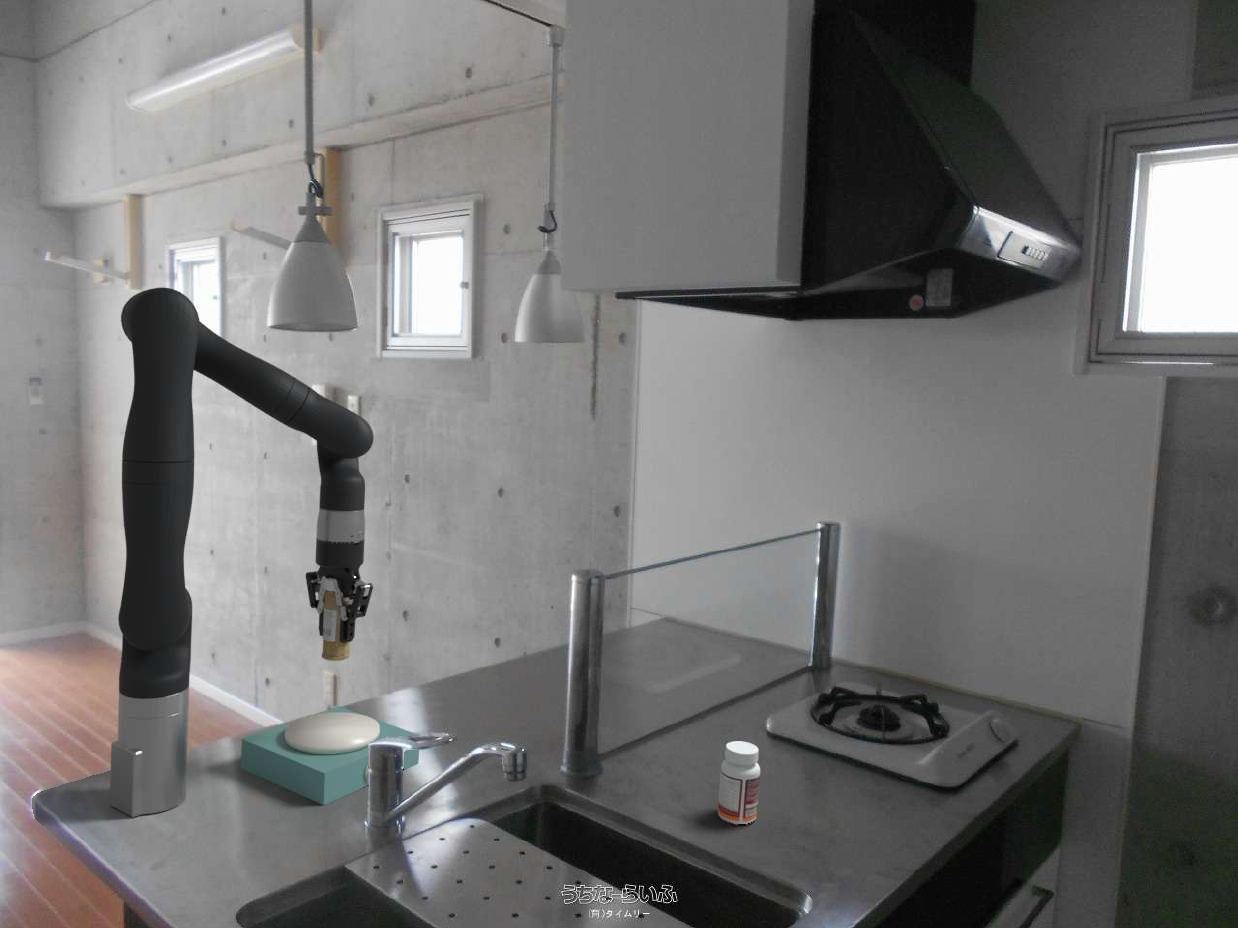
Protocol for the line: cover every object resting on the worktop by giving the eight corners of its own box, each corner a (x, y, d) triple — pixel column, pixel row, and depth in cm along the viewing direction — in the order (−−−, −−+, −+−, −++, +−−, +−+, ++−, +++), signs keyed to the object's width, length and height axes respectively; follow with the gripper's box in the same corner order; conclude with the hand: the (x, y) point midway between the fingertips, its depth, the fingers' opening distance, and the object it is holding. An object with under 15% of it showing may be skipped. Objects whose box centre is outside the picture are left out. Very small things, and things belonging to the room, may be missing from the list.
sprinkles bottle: (353, 659, 148) (357, 579, 147) (325, 662, 146) (328, 580, 144) (345, 651, 152) (348, 573, 151) (317, 654, 149) (321, 574, 148)
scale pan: (327, 762, 140) (327, 754, 140) (264, 737, 147) (265, 729, 147) (398, 734, 152) (398, 727, 152) (337, 712, 160) (338, 705, 160)
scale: (326, 806, 136) (327, 774, 136) (240, 768, 147) (241, 738, 147) (420, 764, 153) (422, 735, 153) (338, 732, 164) (339, 706, 164)
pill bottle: (753, 808, 145) (759, 740, 144) (759, 827, 139) (765, 756, 138) (715, 806, 145) (720, 738, 144) (719, 824, 139) (724, 753, 138)
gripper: (292, 531, 148) (288, 634, 149) (353, 544, 140) (348, 652, 142) (329, 527, 154) (325, 625, 155) (389, 539, 146) (384, 643, 148)
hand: (336, 638), depth 148 cm, fingers closed on sprinkles bottle, 4 cm apart
